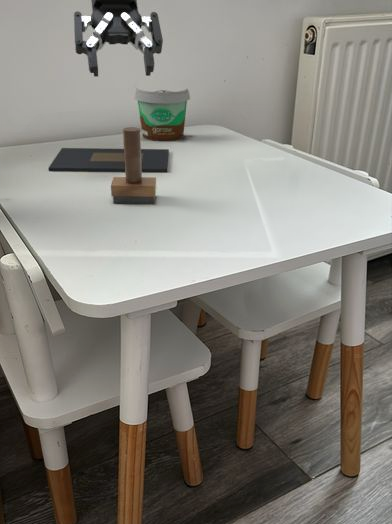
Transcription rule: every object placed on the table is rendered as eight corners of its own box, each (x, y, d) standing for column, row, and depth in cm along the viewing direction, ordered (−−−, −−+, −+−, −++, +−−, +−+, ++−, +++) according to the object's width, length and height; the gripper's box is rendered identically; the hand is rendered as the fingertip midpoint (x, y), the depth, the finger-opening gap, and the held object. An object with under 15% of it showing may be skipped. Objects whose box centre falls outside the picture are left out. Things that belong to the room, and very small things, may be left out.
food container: (140, 143, 121) (138, 93, 115) (135, 136, 126) (133, 88, 120) (195, 141, 123) (196, 92, 118) (189, 134, 128) (189, 87, 123)
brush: (111, 203, 89) (106, 132, 83) (114, 194, 93) (110, 125, 87) (155, 204, 90) (153, 132, 83) (156, 195, 93) (154, 126, 87)
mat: (48, 171, 103) (48, 167, 103) (62, 150, 115) (61, 147, 115) (167, 172, 104) (167, 168, 104) (168, 152, 116) (168, 149, 115)
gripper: (153, 5, 98) (163, 87, 96) (70, 4, 96) (79, 88, 93) (156, -31, 91) (167, 56, 88) (67, -33, 89) (76, 57, 86)
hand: (122, 72), depth 91 cm, fingers open, 8 cm apart
